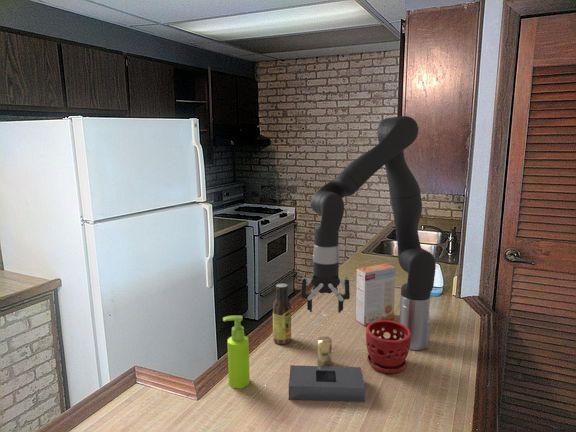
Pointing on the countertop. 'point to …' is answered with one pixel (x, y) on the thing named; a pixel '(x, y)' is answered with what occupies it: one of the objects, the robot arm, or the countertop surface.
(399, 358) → the plant pot
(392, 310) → the cracker box
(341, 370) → the jig
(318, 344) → the gold cylinder
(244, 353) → the soap dispenser
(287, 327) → the sauce bottle
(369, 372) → the countertop surface
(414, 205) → the robot arm
